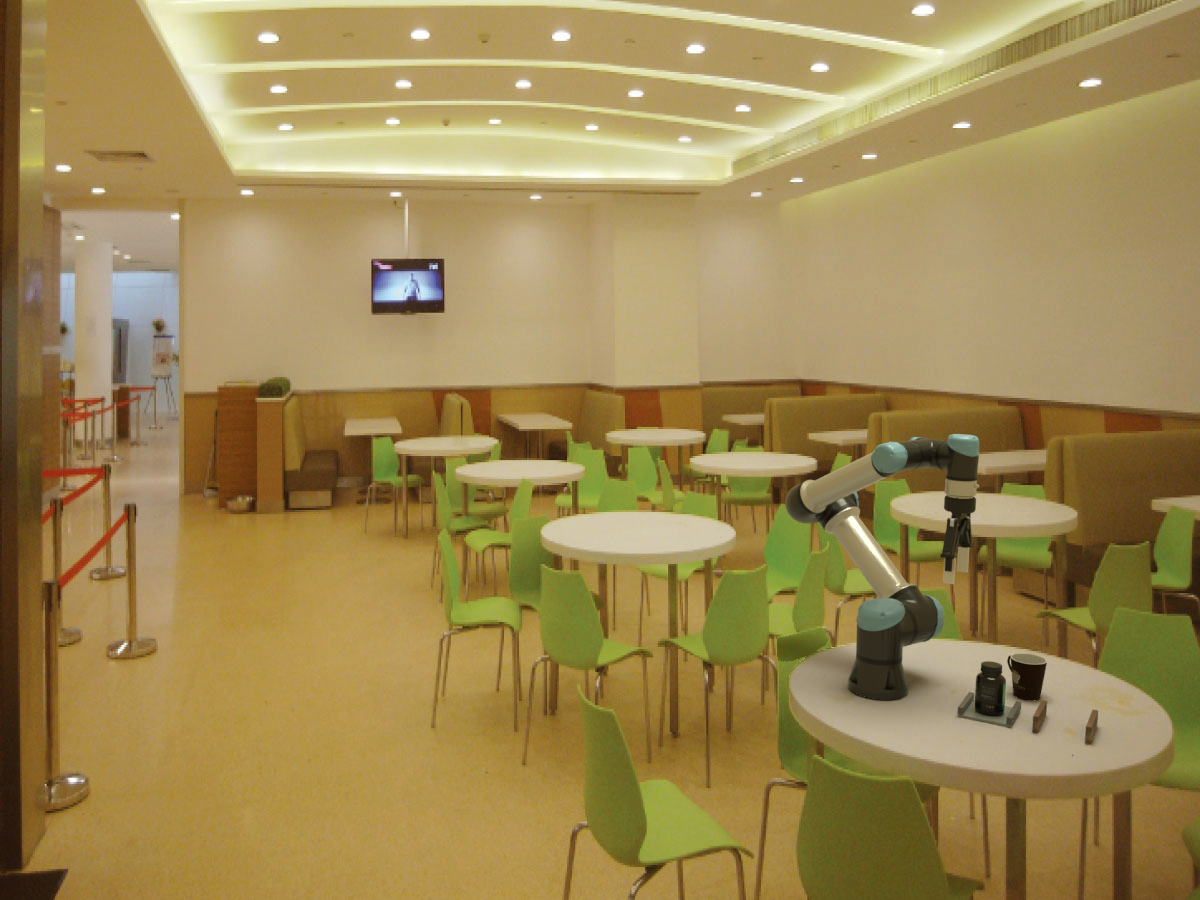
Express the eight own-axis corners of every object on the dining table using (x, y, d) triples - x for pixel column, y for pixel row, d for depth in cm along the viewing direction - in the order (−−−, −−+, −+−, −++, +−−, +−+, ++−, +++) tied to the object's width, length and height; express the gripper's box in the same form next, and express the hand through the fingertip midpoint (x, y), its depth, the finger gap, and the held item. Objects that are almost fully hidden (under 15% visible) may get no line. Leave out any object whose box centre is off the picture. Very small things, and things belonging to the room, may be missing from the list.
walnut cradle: (1032, 732, 231) (1033, 715, 230) (1040, 715, 240) (1041, 699, 240) (1090, 744, 224) (1091, 727, 223) (1097, 726, 234) (1098, 710, 233)
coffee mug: (1048, 703, 248) (1050, 665, 247) (1012, 701, 250) (1014, 663, 248) (1037, 687, 259) (1039, 650, 258) (1003, 684, 261) (1005, 648, 260)
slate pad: (957, 716, 240) (957, 707, 239) (968, 700, 250) (969, 691, 249) (1011, 727, 233) (1011, 718, 233) (1020, 711, 243) (1021, 702, 243)
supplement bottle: (1010, 714, 239) (1013, 667, 238) (987, 718, 237) (990, 670, 236) (990, 704, 246) (992, 658, 244) (968, 708, 243) (970, 661, 242)
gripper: (963, 505, 235) (958, 591, 238) (987, 490, 256) (982, 569, 259) (931, 501, 239) (926, 586, 242) (957, 487, 260) (953, 565, 263)
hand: (955, 577), depth 251 cm, fingers open, 13 cm apart
